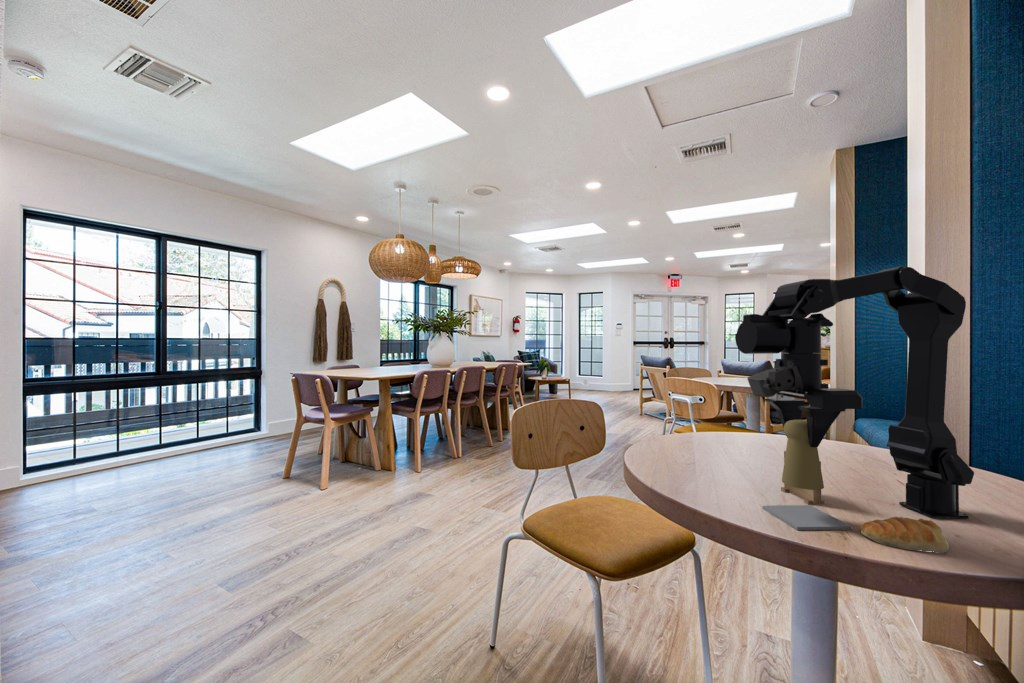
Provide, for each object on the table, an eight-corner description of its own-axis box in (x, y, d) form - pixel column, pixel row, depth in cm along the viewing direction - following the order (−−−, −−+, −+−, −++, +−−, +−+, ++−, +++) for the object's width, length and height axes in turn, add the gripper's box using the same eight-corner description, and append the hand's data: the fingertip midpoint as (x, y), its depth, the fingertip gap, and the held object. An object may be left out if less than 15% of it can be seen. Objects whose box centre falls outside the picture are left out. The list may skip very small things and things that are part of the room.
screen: (795, 489, 86) (795, 450, 86) (825, 504, 78) (825, 461, 78) (780, 489, 86) (780, 451, 86) (809, 504, 78) (808, 461, 78)
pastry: (877, 550, 61) (877, 524, 61) (851, 530, 68) (851, 507, 68) (954, 557, 59) (954, 530, 59) (920, 536, 66) (919, 512, 66)
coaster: (810, 507, 77) (810, 505, 77) (851, 529, 68) (851, 526, 68) (762, 508, 76) (762, 505, 76) (797, 530, 67) (797, 527, 67)
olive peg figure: (823, 492, 68) (822, 425, 68) (779, 485, 72) (779, 421, 72) (824, 482, 73) (823, 419, 73) (783, 476, 77) (782, 416, 77)
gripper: (726, 352, 82) (727, 432, 82) (792, 355, 63) (793, 458, 63) (782, 352, 82) (783, 432, 82) (864, 354, 63) (866, 457, 63)
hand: (802, 443), depth 72 cm, fingers closed on olive peg figure, 5 cm apart
